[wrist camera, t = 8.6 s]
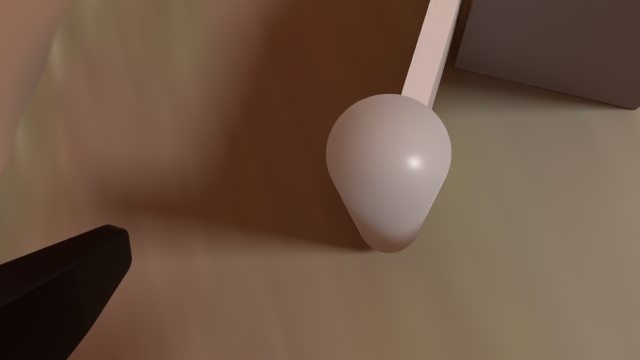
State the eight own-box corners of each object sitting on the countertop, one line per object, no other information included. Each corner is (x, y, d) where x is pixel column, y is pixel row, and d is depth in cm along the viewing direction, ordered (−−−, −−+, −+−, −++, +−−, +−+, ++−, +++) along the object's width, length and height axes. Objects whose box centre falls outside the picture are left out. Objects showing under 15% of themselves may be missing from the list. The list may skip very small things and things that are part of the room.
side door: (409, 260, 20) (432, 229, 10) (350, 242, 21) (310, 193, 10) (481, 11, 22) (565, -240, 12) (425, 0, 23) (457, -252, 12)
